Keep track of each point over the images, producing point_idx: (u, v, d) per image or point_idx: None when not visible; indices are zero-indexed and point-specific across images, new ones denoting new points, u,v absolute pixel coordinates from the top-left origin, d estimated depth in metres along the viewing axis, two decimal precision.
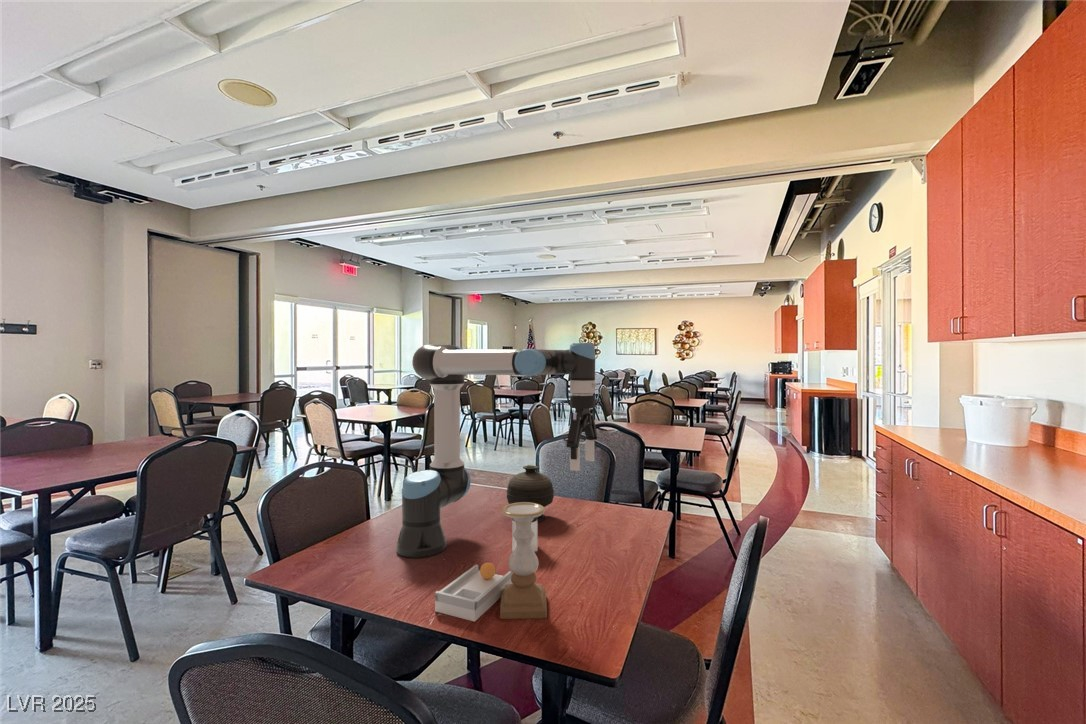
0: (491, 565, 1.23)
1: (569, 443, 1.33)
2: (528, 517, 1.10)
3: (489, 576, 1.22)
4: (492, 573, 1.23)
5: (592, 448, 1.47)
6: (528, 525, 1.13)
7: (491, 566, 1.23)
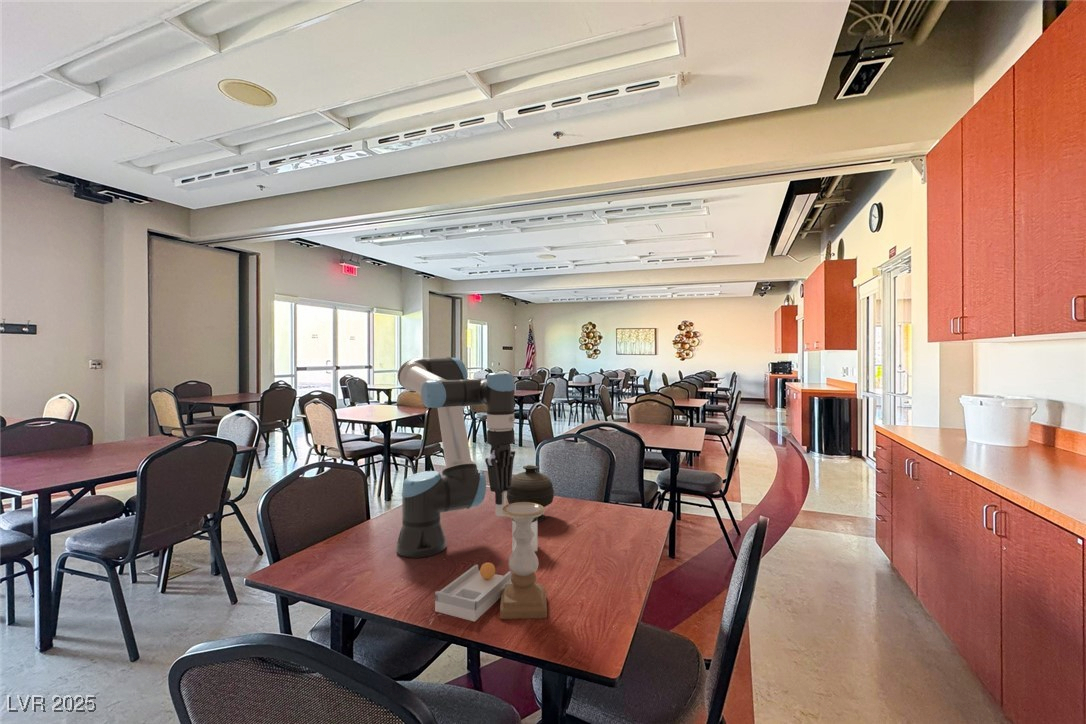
0: (491, 565, 1.23)
1: (493, 488, 1.27)
2: (528, 517, 1.10)
3: (489, 576, 1.22)
4: (492, 573, 1.23)
5: None
6: (528, 525, 1.13)
7: (491, 566, 1.23)
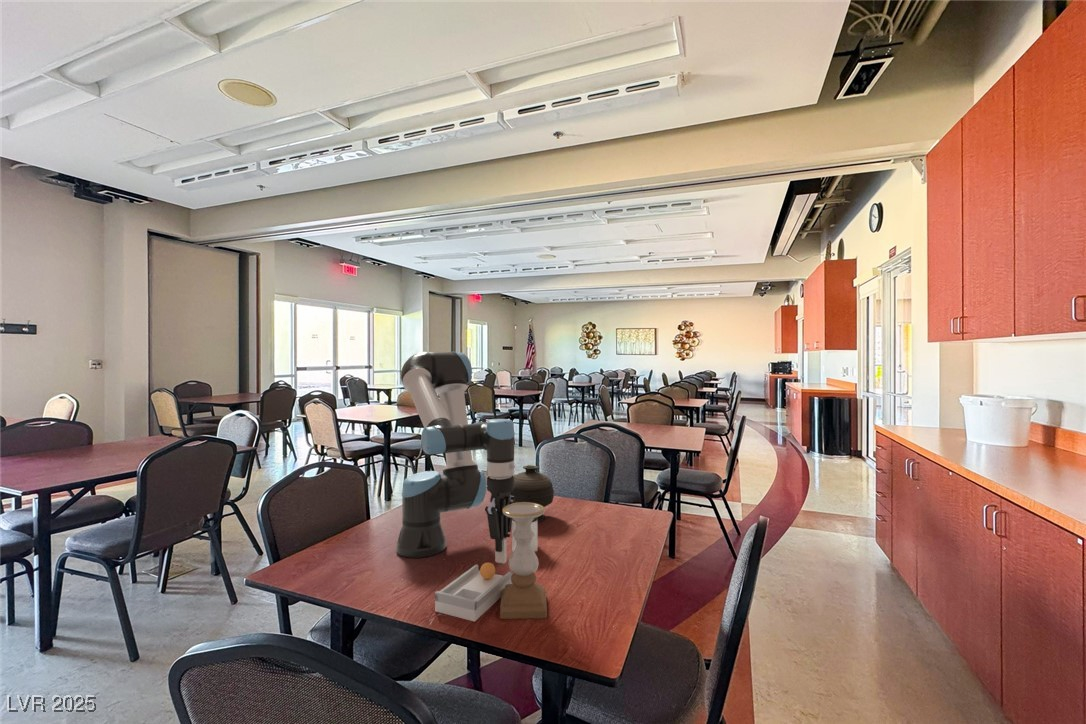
0: (491, 565, 1.23)
1: (493, 536, 1.27)
2: (528, 517, 1.10)
3: (489, 576, 1.22)
4: (492, 573, 1.23)
5: None
6: (528, 525, 1.13)
7: (491, 566, 1.23)
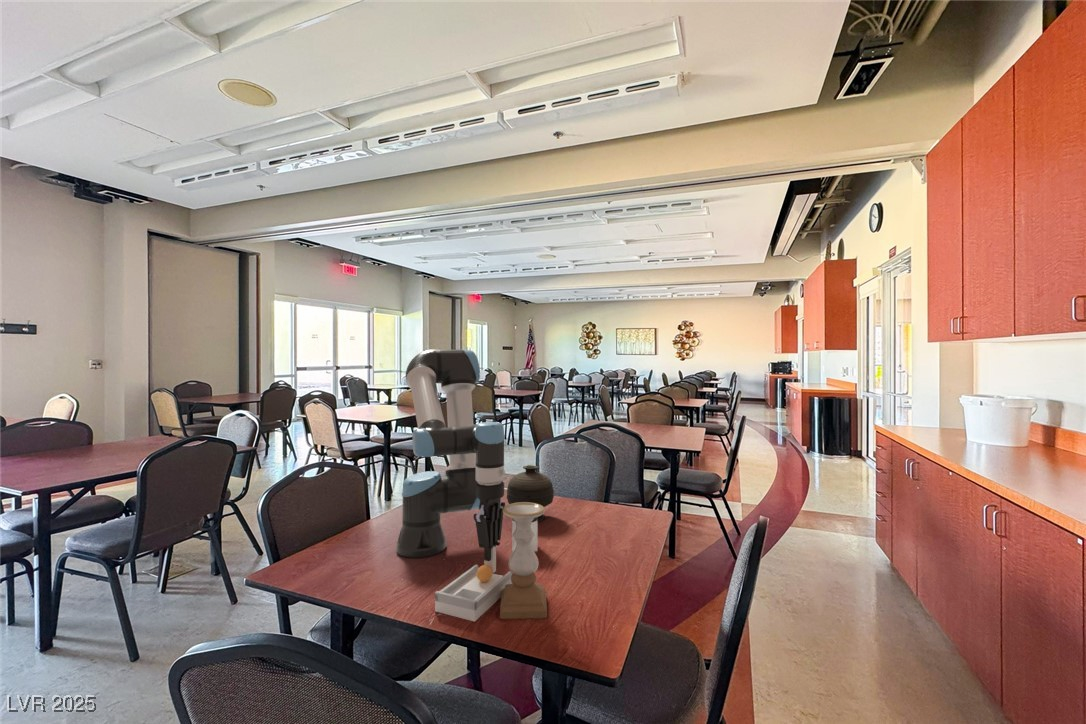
0: (486, 571, 1.21)
1: (481, 544, 1.22)
2: (528, 517, 1.10)
3: (488, 580, 1.21)
4: (489, 577, 1.21)
5: None
6: (528, 525, 1.13)
7: (486, 573, 1.21)
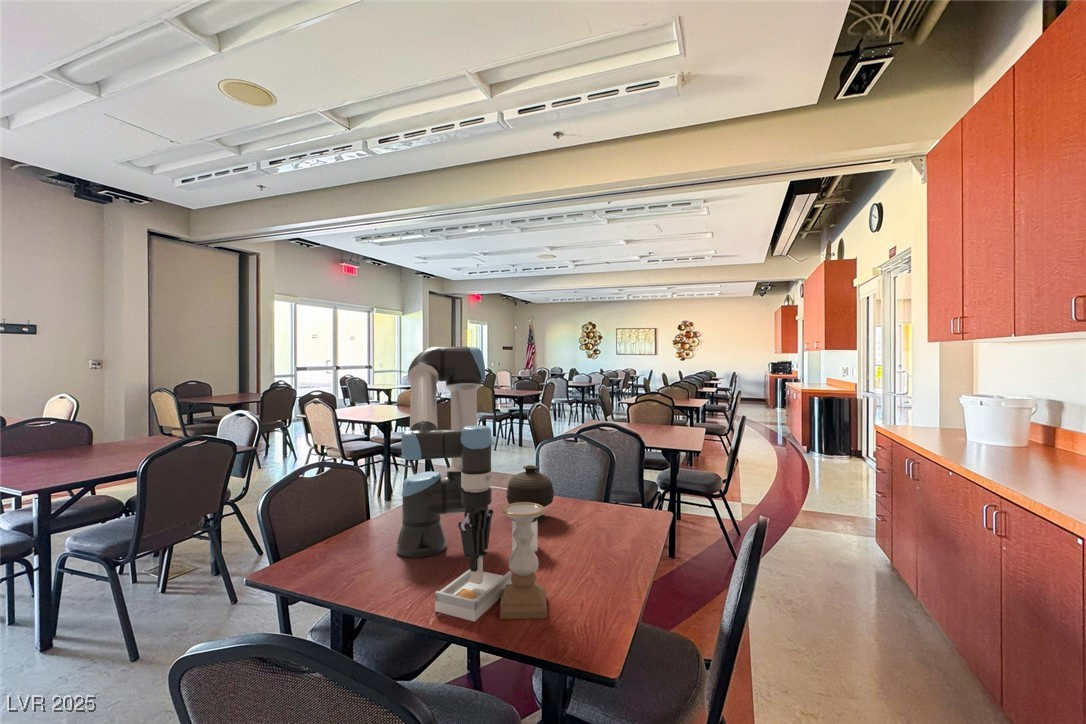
0: (471, 592, 1.15)
1: (467, 554, 1.16)
2: (528, 517, 1.10)
3: None
4: None
5: None
6: (528, 525, 1.13)
7: (471, 593, 1.14)
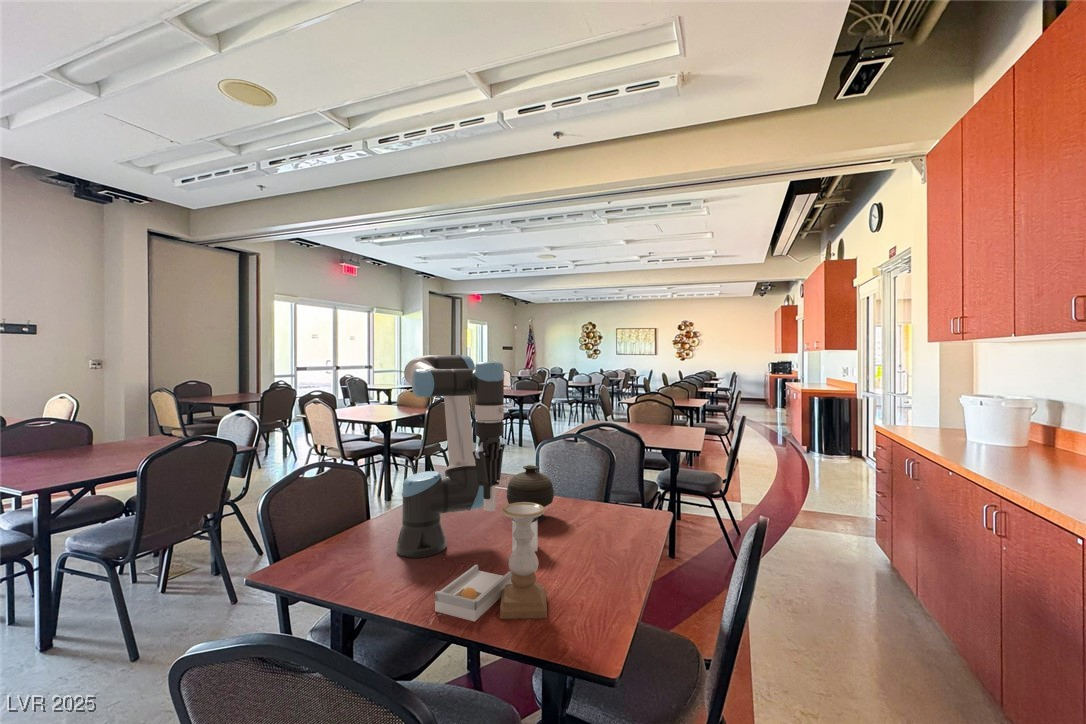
0: None
1: (481, 482, 1.22)
2: (528, 517, 1.10)
3: (470, 596, 1.14)
4: (474, 596, 1.14)
5: None
6: (528, 525, 1.13)
7: (475, 591, 1.16)
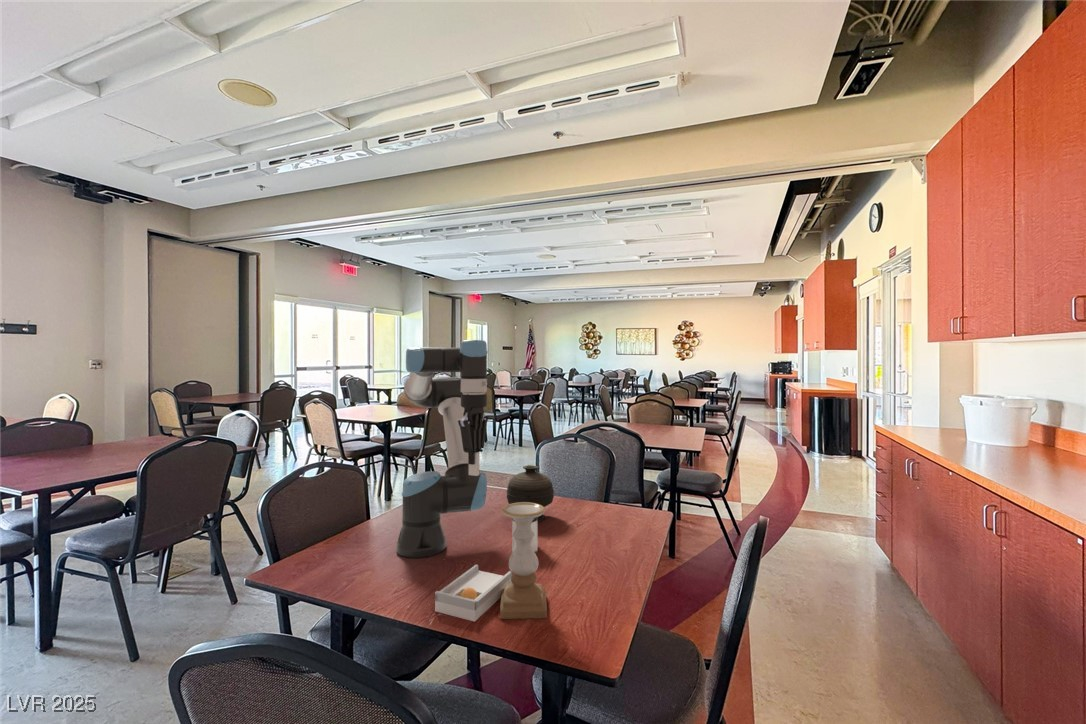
0: (475, 591, 1.16)
1: (465, 448, 1.34)
2: (528, 517, 1.10)
3: (470, 596, 1.14)
4: (474, 596, 1.14)
5: None
6: (528, 525, 1.13)
7: (475, 591, 1.16)
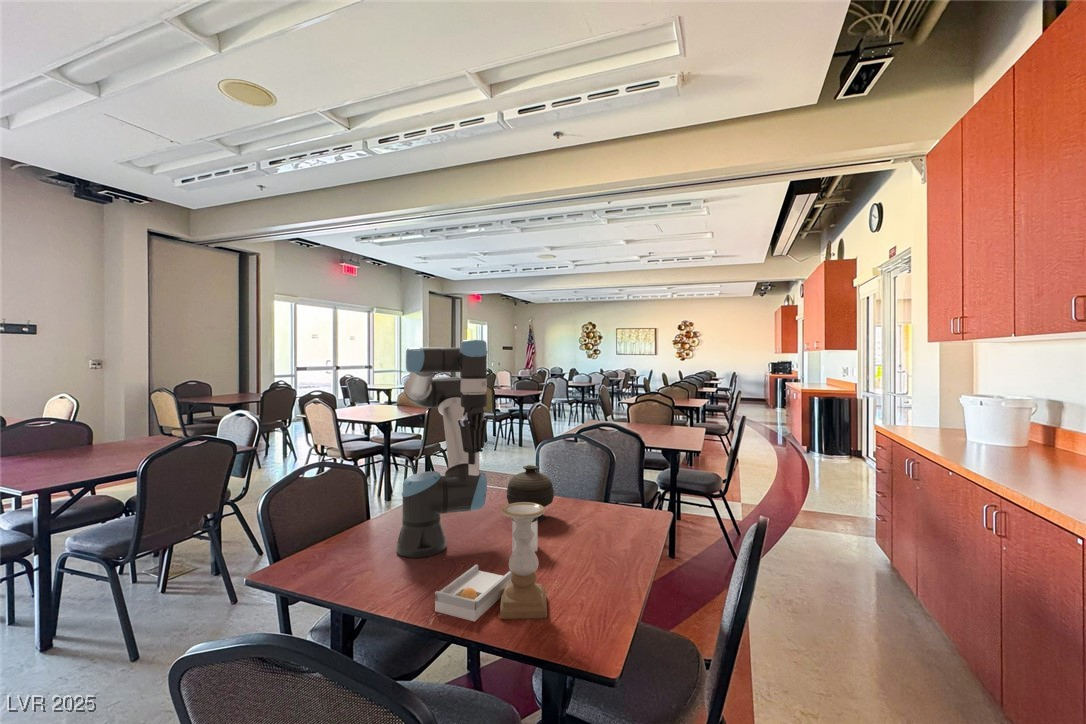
0: (475, 591, 1.16)
1: (465, 448, 1.34)
2: (528, 517, 1.10)
3: (470, 597, 1.14)
4: (474, 596, 1.14)
5: None
6: (528, 525, 1.13)
7: (475, 591, 1.16)
